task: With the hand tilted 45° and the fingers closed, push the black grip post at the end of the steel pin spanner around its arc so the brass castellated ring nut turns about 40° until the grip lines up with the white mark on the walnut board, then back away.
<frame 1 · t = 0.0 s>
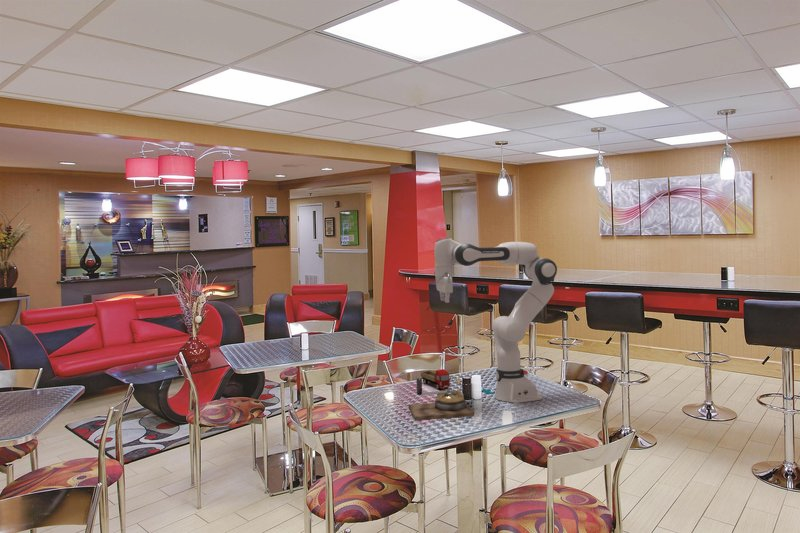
hand: (444, 301, 249), 48 cm above the table, tool pointing down, fingers open, 8 cm apart
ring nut: (440, 389, 237), point 10 cm above the table, hinge at 0.0°
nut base: (450, 409, 238), on the table
toy truck: (436, 386, 280), on the table
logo: (475, 387, 278), on the table
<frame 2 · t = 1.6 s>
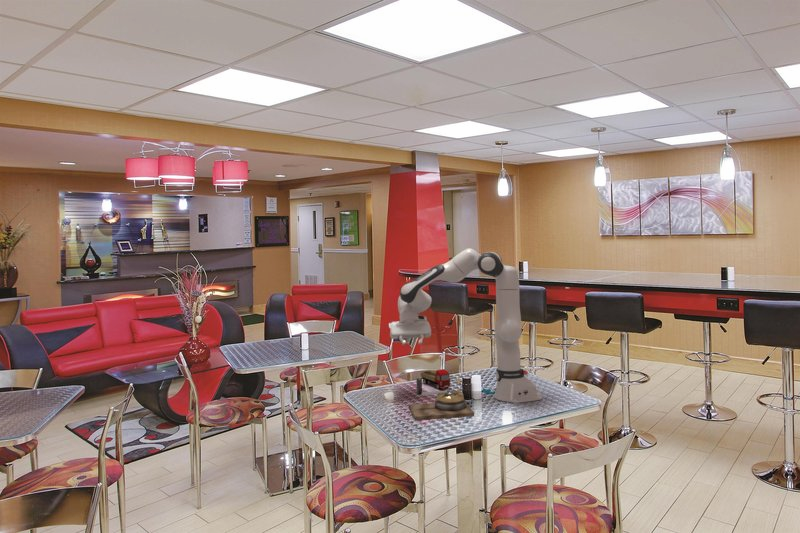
hand: (412, 344, 253), 28 cm above the table, tool tilted 45°, fingers open, 7 cm apart
nothing on the table moved.
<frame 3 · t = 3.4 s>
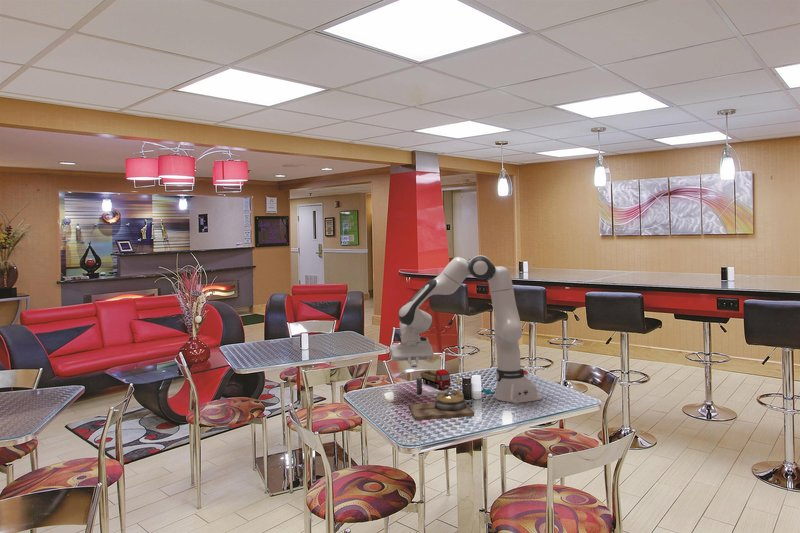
hand: (414, 366, 249), 18 cm above the table, tool tilted 45°, fingers closed
nothing on the table moved.
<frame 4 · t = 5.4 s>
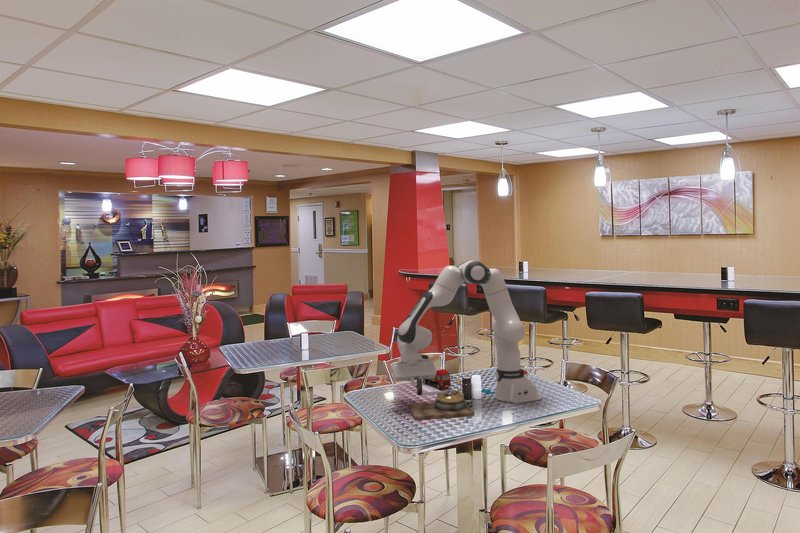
hand: (418, 386, 237), 11 cm above the table, tool tilted 45°, fingers closed, pressing on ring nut
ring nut: (440, 389, 237), point 10 cm above the table, hinge at 2.0°, touching gripper
everything else where it was.
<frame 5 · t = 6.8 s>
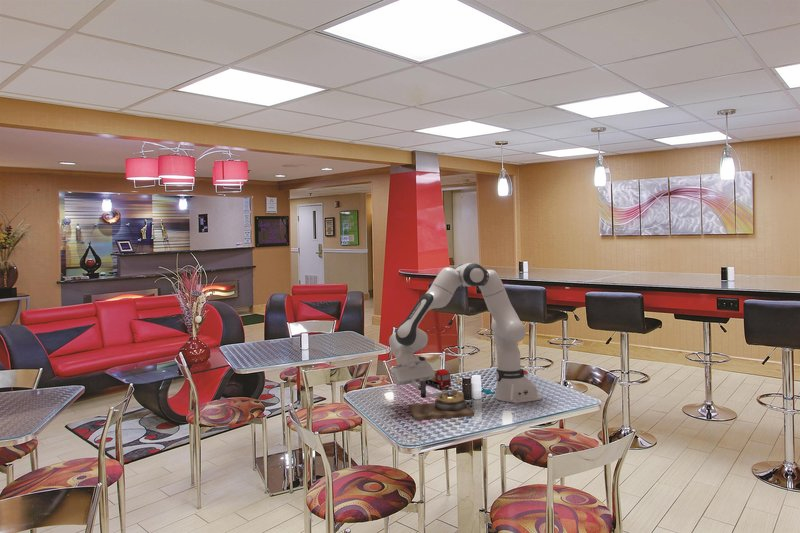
hand: (420, 389, 233), 11 cm above the table, tool tilted 45°, fingers closed, pressing on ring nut
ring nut: (441, 390, 236), point 10 cm above the table, hinge at 20.4°, touching gripper
everything else where it was.
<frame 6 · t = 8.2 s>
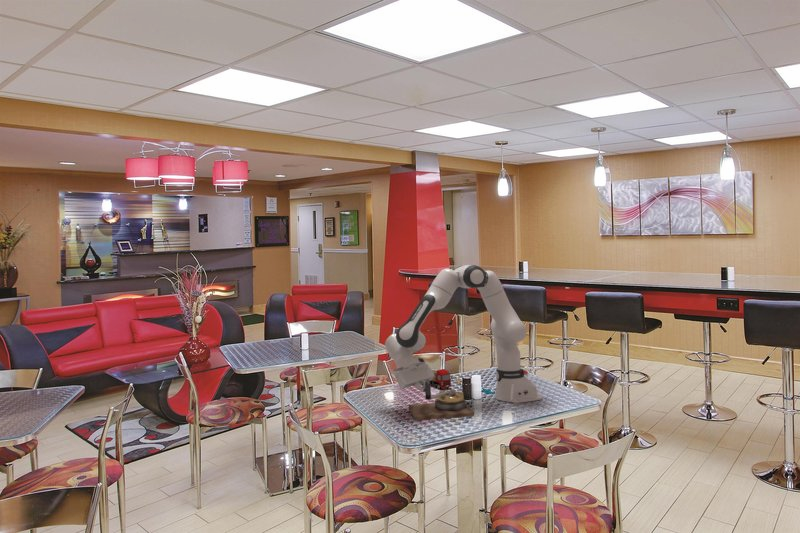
hand: (424, 391, 230), 11 cm above the table, tool tilted 45°, fingers closed, pressing on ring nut
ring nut: (442, 390, 235), point 10 cm above the table, hinge at 34.3°, touching gripper
everything else where it was.
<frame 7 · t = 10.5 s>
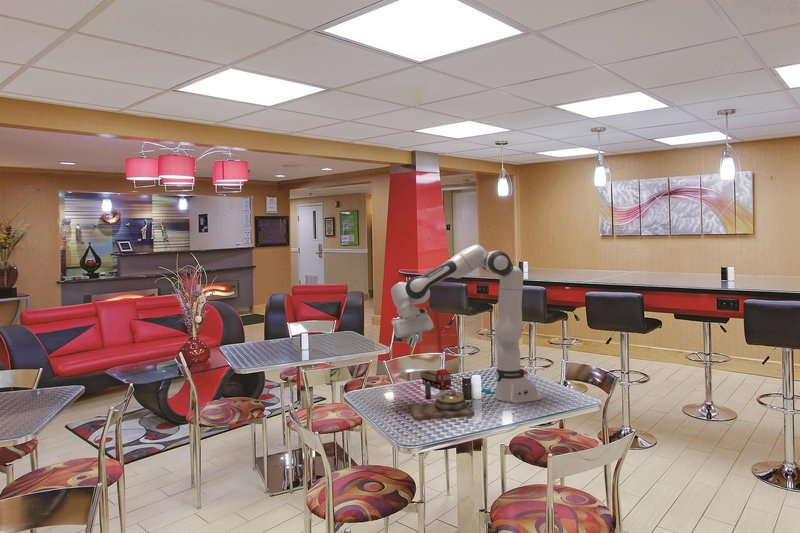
hand: (419, 342, 244), 30 cm above the table, tool tilted 30°, fingers closed
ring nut: (442, 390, 235), point 10 cm above the table, hinge at 34.3°
everything else where it was.
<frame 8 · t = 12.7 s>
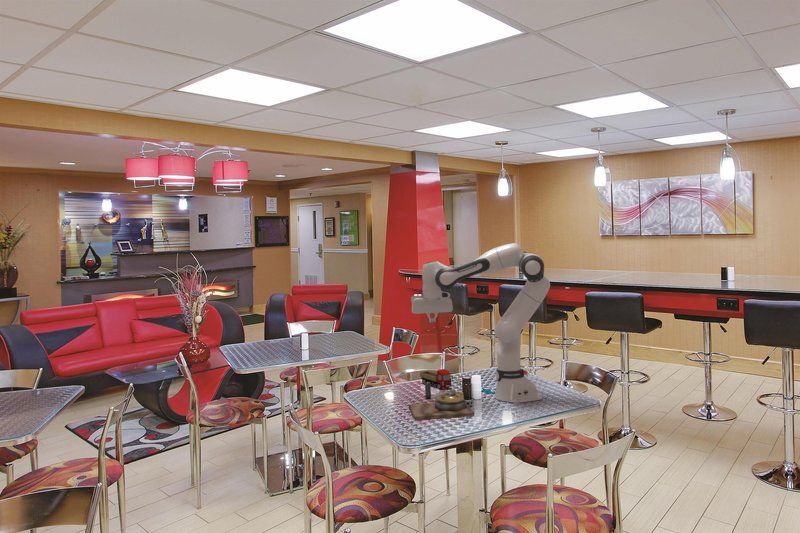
hand: (432, 322, 258), 37 cm above the table, tool pointing down, fingers closed
nothing on the table moved.
at the end: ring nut at +34° (first picture: +0°) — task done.
